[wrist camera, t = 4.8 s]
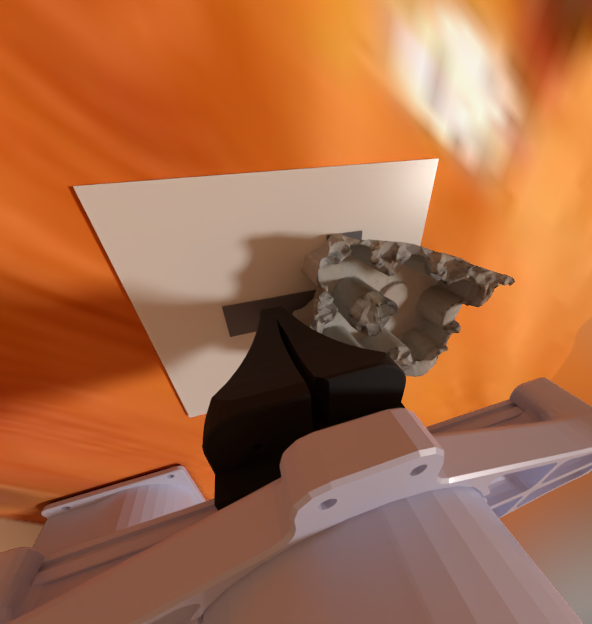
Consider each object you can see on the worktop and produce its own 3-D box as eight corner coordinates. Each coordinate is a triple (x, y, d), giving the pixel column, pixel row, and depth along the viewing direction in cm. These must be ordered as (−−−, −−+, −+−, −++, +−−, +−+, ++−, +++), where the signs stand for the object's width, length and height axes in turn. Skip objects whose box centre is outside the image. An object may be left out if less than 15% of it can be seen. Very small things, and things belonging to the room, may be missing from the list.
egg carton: (456, 254, 15) (527, 276, 12) (405, 347, 18) (448, 385, 15) (311, 214, 11) (354, 229, 8) (277, 341, 14) (297, 393, 11)
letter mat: (190, 415, 16) (189, 419, 16) (75, 186, 9) (71, 186, 8) (393, 361, 19) (395, 364, 19) (435, 158, 12) (440, 158, 11)
